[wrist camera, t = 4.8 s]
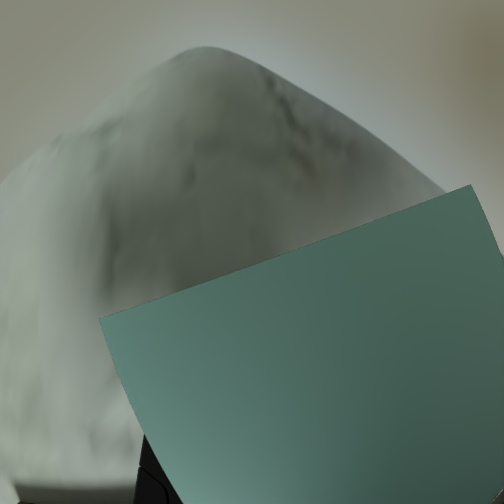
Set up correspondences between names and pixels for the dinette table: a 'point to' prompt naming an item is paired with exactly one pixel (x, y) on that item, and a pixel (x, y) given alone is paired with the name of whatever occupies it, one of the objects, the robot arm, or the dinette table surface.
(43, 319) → the dinette table surface
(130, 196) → the dinette table surface
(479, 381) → the teal block
